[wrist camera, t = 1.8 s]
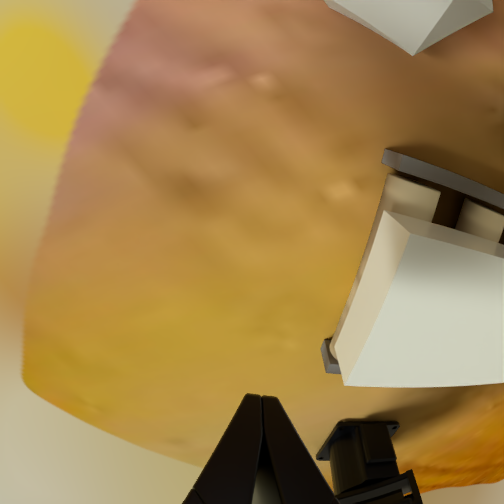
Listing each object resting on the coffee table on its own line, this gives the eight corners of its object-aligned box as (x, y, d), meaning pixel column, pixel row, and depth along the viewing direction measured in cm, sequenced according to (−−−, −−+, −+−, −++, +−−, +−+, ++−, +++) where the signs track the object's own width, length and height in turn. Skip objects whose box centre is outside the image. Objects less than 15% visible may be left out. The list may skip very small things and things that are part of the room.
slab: (511, 355, 18) (529, 379, 15) (334, 346, 17) (344, 385, 14) (558, 264, 15) (583, 284, 12) (383, 209, 14) (410, 233, 11)
